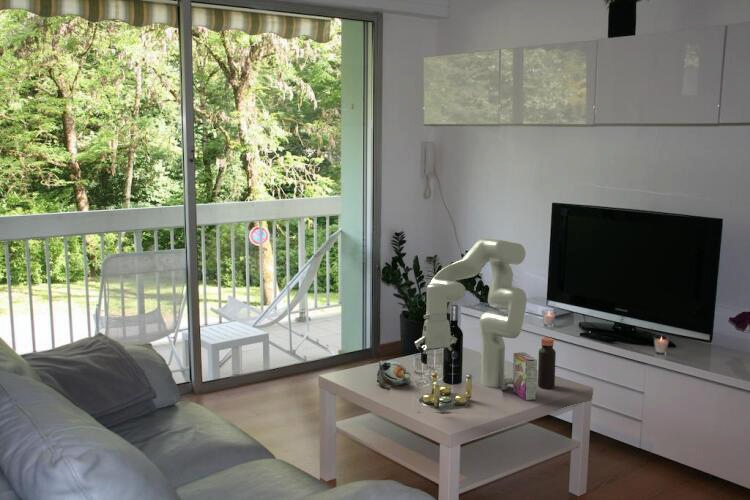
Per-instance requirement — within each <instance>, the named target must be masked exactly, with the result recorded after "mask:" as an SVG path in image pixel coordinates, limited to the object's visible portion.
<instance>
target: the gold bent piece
mask: <svg viewBox="0 0 750 500" xmlns="http://www.w3.org/2000/svg"><path fill="white" fill-rule="evenodd" d="M465 378H466V380H465V381H466V382H465V383H466V384H465V385H466V391H465V393H463V394H462V393H461V394H460V393H459V394H460V395H456V396H455V404H456V405H466V404H467V398H470V399H472V390H473V389H472V381H473V374H469V373H468V374H466V375H465Z"/></svg>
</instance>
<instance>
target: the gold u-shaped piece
mask: <svg viewBox="0 0 750 500" xmlns="http://www.w3.org/2000/svg"><path fill="white" fill-rule="evenodd" d="M430 376H431V393H432V394H434V385H433V382H438V372H431V373H430ZM439 393H440V395H442V396H449V395H451V393H452V386H450V385H439Z"/></svg>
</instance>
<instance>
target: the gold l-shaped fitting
mask: <svg viewBox="0 0 750 500" xmlns="http://www.w3.org/2000/svg"><path fill="white" fill-rule="evenodd" d="M433 385H434V394H430V393H423V395H422V396H423V403H424V404H434V406H439V388H440V386H441V382H440V381H437V382H433Z"/></svg>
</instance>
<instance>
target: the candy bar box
mask: <svg viewBox="0 0 750 500" xmlns="http://www.w3.org/2000/svg"><path fill="white" fill-rule="evenodd" d="M537 361H538V360H537V358H535V357H532V356H531V355H530V354H528V353H526V352H524V351H523V352H522V351H521V352H520V351H519V352H514V353H513V364H512V365H513V372H512V374H513V376H512V379H513V384H512V385H513V386H512V392H513V393H514V394H515V395H517V396H519V397H520V398H521V399H523V400H524V401H534V400H537V376H538V368H537V365H538V362H537Z"/></svg>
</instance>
